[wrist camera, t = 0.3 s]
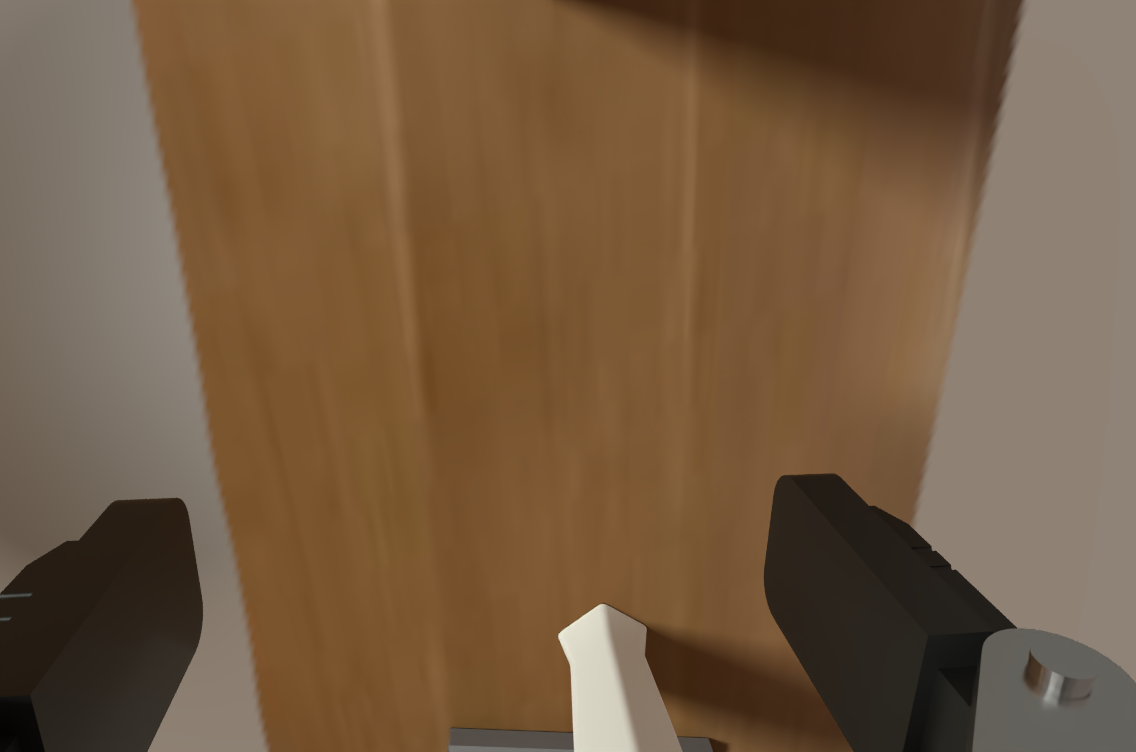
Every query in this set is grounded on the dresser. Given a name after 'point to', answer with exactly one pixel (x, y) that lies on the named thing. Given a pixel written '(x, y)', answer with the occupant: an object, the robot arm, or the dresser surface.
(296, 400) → the dresser surface
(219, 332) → the dresser surface
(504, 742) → the collar stand
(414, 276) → the dresser surface
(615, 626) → the perfume bottle
